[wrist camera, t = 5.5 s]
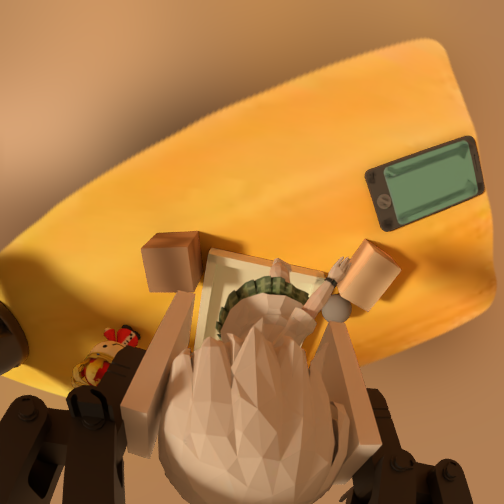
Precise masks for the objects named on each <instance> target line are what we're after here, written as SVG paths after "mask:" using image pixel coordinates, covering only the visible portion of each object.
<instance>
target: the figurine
mask: <svg viewBox="0 0 504 504" xmlns="http://www.w3.org/2000/svg"><path fill="white" fill-rule="evenodd" d="M343 258H344V257H341V258H340V259H339V260H338V261H337V262H336V263H335V265H334V266H333V267H332V269H331V270H330V272H329V274H328V277H327V278H325V279H324V280H325V281H324V282H323V283H322V285H321V286H320V287H319V288H318V289H317V290H316V291H315V292H314V293H313V294H312V295H311V296H310V297H308V296H309V294H308V293H307V292H305V291H303V290H300V289H298V288H296V287H295V286H294V285H293V284H291V283H290V272H291V271H292V269H291V265H289V264H288V263H286V262H284V261H283V260H281V259H279V258H277V259H274V262H273V265H272V267H271V269H270V271H269V276H263V277H261V278H259V279H257V280H255V281H254V279H253V280H250V281H247V282H245V283H244V284H243V285H242V286H241V287H240V288H239V289H238V290H236V291H235V290H233V291H232V292H231V293H230V294H229V295H228V298H227V301H226V304H225V306H224V307H221V310H220V313H219V322H218V321H216V327H215V329H216V330H217V331H218V332H219V334H217V336H218V337H219V340H218V341H217V340H216V339H214V338H212V337H208V338H206V339H204V341H203V344H202V346H201V348H200V349H197V350H195V351H194V352H193V353H192V352H191V349H190V348H186V349H184V350H183V351H182V352H181V353H180V354H179V355H178V356H177V357H176V358H175V360H174V361H173V363H172V365H171V370H170V373H169V376H168V380H167V384H166V388H165V392H164V398H163V404H162V411H161V418H160V424H159V432H158V444H159V460H160V462H161V464H162V466H163V468H164V470H165V475H166V477H167V478H168V479H169V481H170V483H171V484H172V485H173V486H174V487H175V489H176V490H177V491H178V492H179V494H180V495H181V497H182V498H183V499H185V500H186V501H187V502H188V503H190V504H313V503H314V502H315V501H317V500H318V499H319V498H321V497H322V496H323V495H324V494H325V493H326V492H327V491H328V490H329V489H330V488H331V486H332V485H333V483H334V481H335V480H336V478H337V476H338V474H339V473H340V471H341V469H342V464H343V461H344V459H345V457H346V456H347V448H348V436H349V424H350V419H349V417H348V415H347V412H346V410H345V408H344V405H342V404H339V403H336V402H333V401H331V402H329V396H328V393H327V391H326V388H325V385H324V383H323V380H322V371H323V364H324V356H325V350H326V348H327V346H328V343H329V342H328V343H326V344H324V346H323V347H322V348H321V350H320V351H319V352H318V354H317V355H316V356H315V357H314V359H313V360H312V361H311V365H310V367H309V369H308V365H307V360H306V354H305V350H304V349H302V348H300V346H301V344H302V343H303V341H304V340H305V338H306V337H307V336H308V335H309V334H311V333H313V331H314V329H315V327H316V324H317V323H316V322H315V320H314V319H315V317H316V316H317V314H318V313H319V312H320V310H321V309H322V308H323V307H324V306H325V304H326V303H327V302H328V300H329V298H330V296H331V293H332V291H333V289H334V288H335V287H336V285H337V284H338V283H339V282H341V281H342V280H343V279H344V277H345V276H346V274H347V272H348V270H349V268H350V266H351V264H352V263H351V262H350V263H349V261H350V259H349V258H348V257H346V258H345V259H344V260H343ZM347 259H348V260H347ZM342 260H343V261H342ZM341 261H342V262H341ZM348 263H349V264H348ZM190 353H191V354H190ZM191 355H192V356H191ZM190 357H191V359H190ZM330 404H331V405H333V406H334V407H336V408H337V409H338V422H337V420H336V419H333V418H332V415H331V408H330Z"/></svg>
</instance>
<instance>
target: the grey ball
mask: <svg viewBox="0 0 504 504" xmlns="http://www.w3.org/2000/svg"><path fill="white" fill-rule="evenodd" d="M322 314H323V317H324V318H325V319H326V320H327V321H328V322H329V321H334V322H340V323H343V322H345V321H346V320H347V319H348V318H349V316H350V314H351V304H350V301H348V300H346V299H345V298H343V297H341V295H340V294H334V295H331V296H330V298H329V300H328V302H327V303H326V304H325V306H324V307H323V308H322Z"/></svg>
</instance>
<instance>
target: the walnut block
mask: <svg viewBox="0 0 504 504" xmlns="http://www.w3.org/2000/svg"><path fill="white" fill-rule="evenodd" d="M141 253H142V258H143V263H144V268H145V273H146V278H147V282H148V287H149V292H177V291H178V290H180V291H184V292H194V291H195V289H196V287H197V285H198V283H199V281H200V278H201V276H202V274H203V264H202V256H201V248H200V240H199V231H190V232H168V233H156V234H155V235H154V236H153V237H152V238H151V239H150V240H149V241H148V242H147V243H146V244H145V245H144V246H143V247H142V248H141Z"/></svg>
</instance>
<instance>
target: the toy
mask: <svg viewBox="0 0 504 504" xmlns="http://www.w3.org/2000/svg"><path fill="white" fill-rule="evenodd" d="M104 336H105V337H106V338H107V339H108V340H109V341H104V342H101V343H99V344H97V345H96V346H95V347H94V348H93V349H92V350H91V352H90V354H89V355H88V356H87V357H86V359H85V360H84V362H83V363H80V364H78V365H76V366H75V367H74V369H73V371H72V372H73V376H72V377H71V378H72V381H71V382H72V386H73V387H74V388H76V387H79V385H77V384H75V382H81V383H83V384H85V385H93V386H96V387H97V386H98V384H99V382H100V381H101V379H102V377H103V375H104V374H105V372H107V369H108V367H109V365H110V364H111V363H112V360H113V359H114V357H115V355H116V354H117V352H118V351H120V350H121V349H123V348H124V347H126V346H127V345H129V346H133V347H135V346H137V344H138V340H139V339H140V338H141V337H140V334H139V333H138V332H136V331H132V329H131V327H129V326H127V325H123V326H122V329H119V331H118V332H117V342H116V337H115V330H114V329H111V328H106V329H105V333H104ZM82 365H84V367H83V368H82V369H81V372H78V369H79V367H81V366H82ZM84 376H85V378H86V380H87V382H88V383H86V382H84V381H83V380H82V378H83V377H84Z"/></svg>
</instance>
